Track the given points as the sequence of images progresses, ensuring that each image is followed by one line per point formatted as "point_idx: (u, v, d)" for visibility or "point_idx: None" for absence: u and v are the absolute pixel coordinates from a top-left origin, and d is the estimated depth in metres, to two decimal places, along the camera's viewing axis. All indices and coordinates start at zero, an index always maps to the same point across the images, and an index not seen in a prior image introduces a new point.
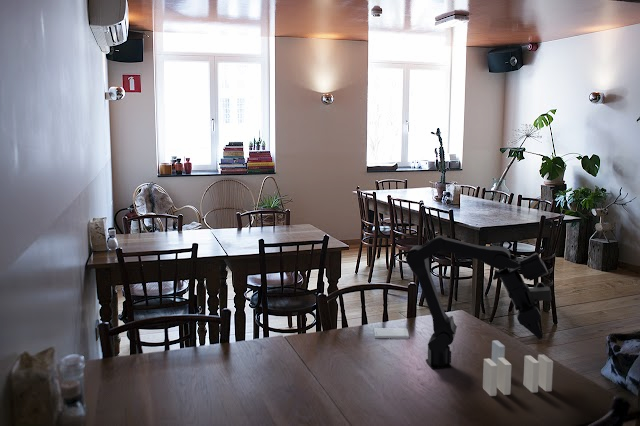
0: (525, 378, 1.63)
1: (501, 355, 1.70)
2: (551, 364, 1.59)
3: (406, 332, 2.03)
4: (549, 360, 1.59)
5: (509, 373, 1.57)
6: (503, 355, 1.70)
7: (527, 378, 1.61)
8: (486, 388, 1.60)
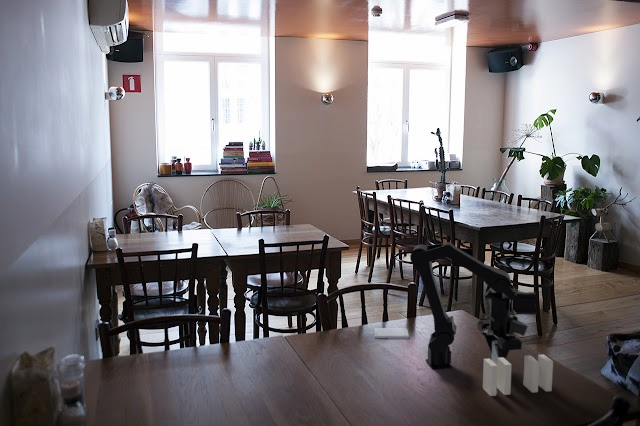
0: (525, 378, 1.63)
1: None
2: (551, 364, 1.59)
3: (405, 332, 2.03)
4: (549, 360, 1.59)
5: (509, 373, 1.57)
6: None
7: (527, 378, 1.61)
8: (486, 388, 1.60)
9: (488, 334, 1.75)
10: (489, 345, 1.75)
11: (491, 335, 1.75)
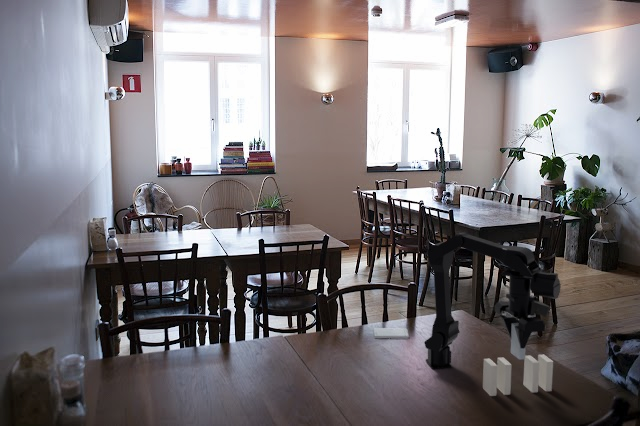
0: (525, 378, 1.63)
1: None
2: (551, 364, 1.59)
3: (405, 332, 2.03)
4: (549, 360, 1.59)
5: (509, 373, 1.57)
6: None
7: (527, 378, 1.61)
8: (486, 388, 1.60)
9: (507, 316, 1.62)
10: (508, 328, 1.62)
11: (510, 317, 1.62)
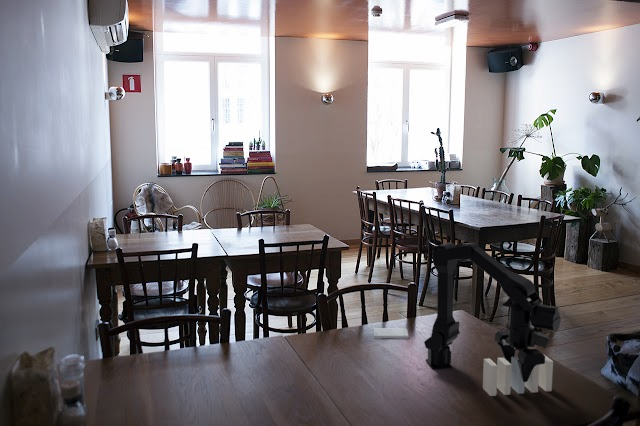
0: None
1: None
2: (551, 364, 1.59)
3: (405, 332, 2.03)
4: (549, 360, 1.59)
5: (509, 373, 1.57)
6: None
7: None
8: (486, 388, 1.60)
9: (504, 344, 1.64)
10: (505, 356, 1.64)
11: (507, 345, 1.64)
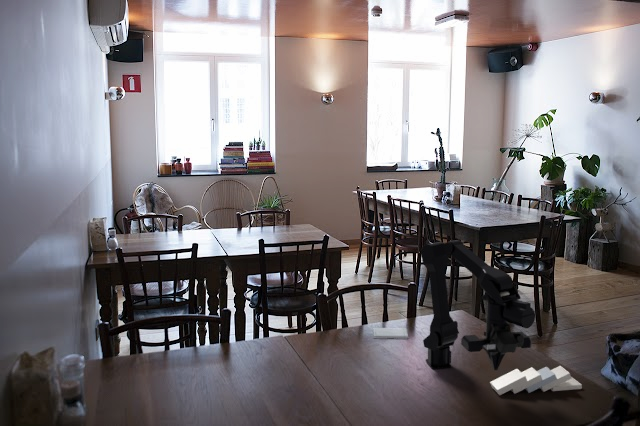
0: None
1: (547, 380, 1.59)
2: None
3: (405, 332, 2.03)
4: None
5: (533, 382, 1.58)
6: (547, 382, 1.59)
7: None
8: (496, 384, 1.60)
9: None
10: None
11: None
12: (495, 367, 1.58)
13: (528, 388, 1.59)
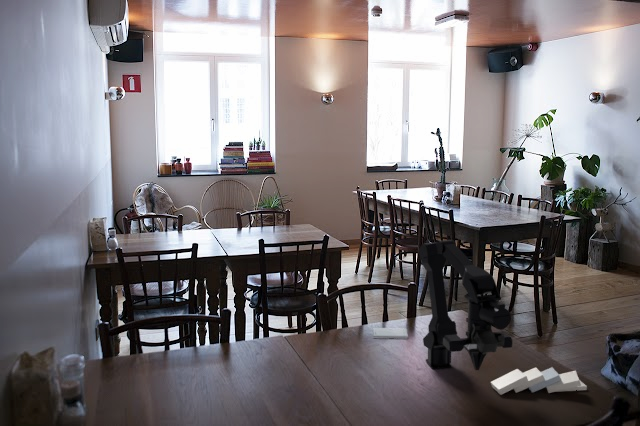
0: None
1: (551, 381, 1.58)
2: None
3: (405, 333, 2.03)
4: None
5: (536, 382, 1.59)
6: (551, 383, 1.59)
7: None
8: (497, 384, 1.60)
9: None
10: None
11: None
12: (477, 367, 1.58)
13: (531, 388, 1.59)
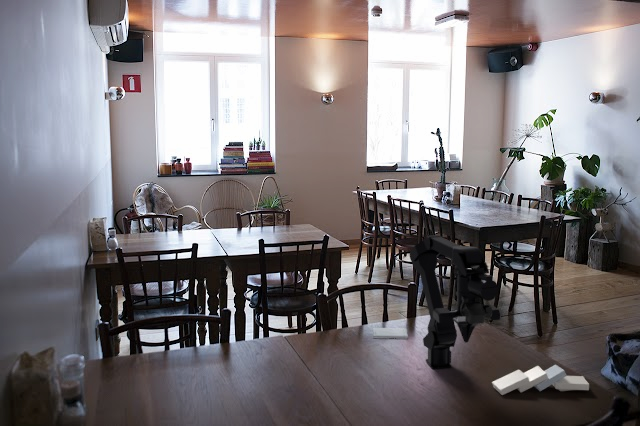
0: None
1: (557, 377, 1.59)
2: None
3: (405, 333, 2.03)
4: None
5: (539, 381, 1.59)
6: (557, 379, 1.59)
7: (564, 379, 1.61)
8: (499, 384, 1.60)
9: None
10: None
11: None
12: (466, 339, 1.62)
13: (539, 386, 1.59)
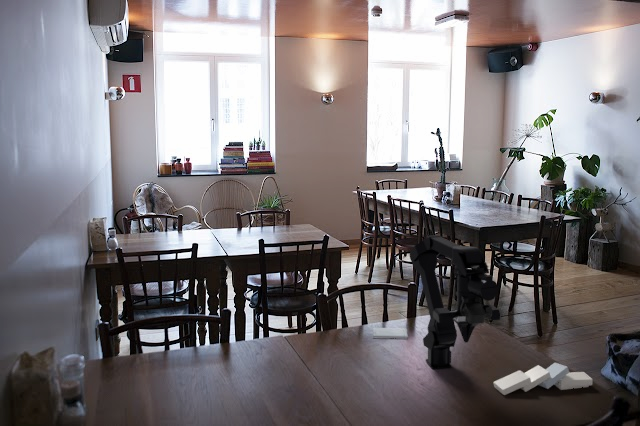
0: None
1: (561, 374, 1.61)
2: None
3: (404, 333, 2.03)
4: None
5: (543, 380, 1.60)
6: (562, 376, 1.61)
7: (568, 376, 1.63)
8: (500, 384, 1.60)
9: None
10: None
11: None
12: (466, 339, 1.62)
13: (547, 384, 1.60)
